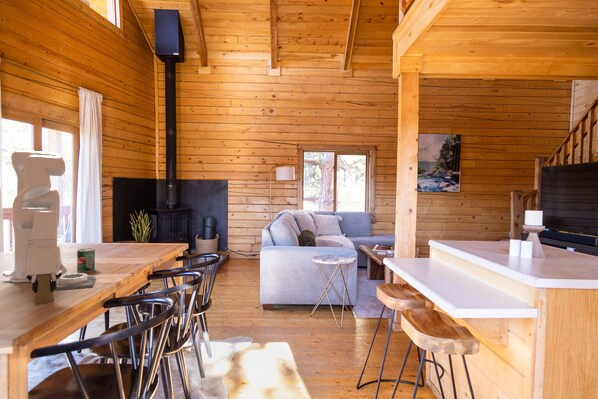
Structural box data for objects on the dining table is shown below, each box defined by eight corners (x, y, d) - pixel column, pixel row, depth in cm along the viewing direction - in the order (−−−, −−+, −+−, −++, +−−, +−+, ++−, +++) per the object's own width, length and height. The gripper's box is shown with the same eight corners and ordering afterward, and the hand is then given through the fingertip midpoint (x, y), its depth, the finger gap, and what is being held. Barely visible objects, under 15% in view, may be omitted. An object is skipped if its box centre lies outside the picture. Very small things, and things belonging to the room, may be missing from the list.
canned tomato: (97, 269, 188) (98, 248, 187) (88, 272, 180) (88, 251, 180) (83, 268, 188) (83, 248, 188) (73, 272, 180) (73, 250, 180)
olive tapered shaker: (57, 299, 136) (58, 270, 136) (47, 304, 130) (47, 274, 130) (41, 298, 136) (42, 270, 136) (30, 303, 130) (30, 274, 130)
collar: (47, 290, 147) (47, 281, 147) (55, 281, 161) (55, 273, 161) (91, 287, 154) (91, 278, 154) (95, 278, 168) (95, 270, 168)
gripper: (14, 245, 126) (13, 296, 126) (70, 243, 133) (69, 292, 133) (20, 242, 133) (19, 291, 133) (73, 241, 140) (72, 287, 140)
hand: (44, 291), depth 133 cm, fingers closed on olive tapered shaker, 4 cm apart
